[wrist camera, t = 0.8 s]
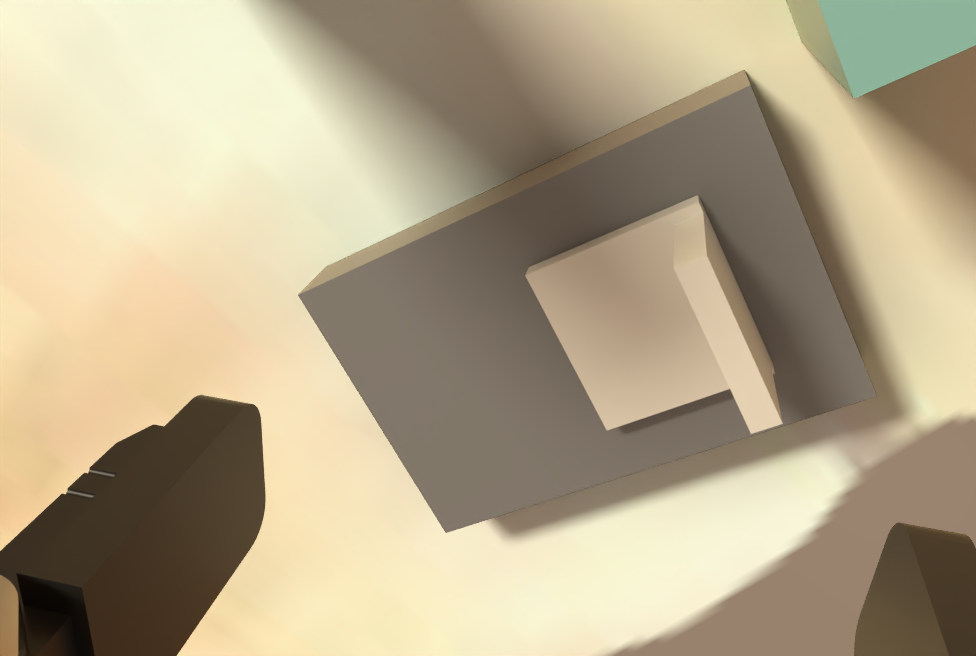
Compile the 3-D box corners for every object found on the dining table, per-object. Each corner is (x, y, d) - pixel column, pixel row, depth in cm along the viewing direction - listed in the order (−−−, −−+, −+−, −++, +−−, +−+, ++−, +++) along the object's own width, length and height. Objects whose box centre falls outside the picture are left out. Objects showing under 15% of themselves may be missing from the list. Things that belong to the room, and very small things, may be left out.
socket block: (744, 69, 30) (750, 85, 27) (861, 358, 34) (877, 396, 31) (325, 267, 37) (297, 294, 34) (461, 491, 40) (445, 532, 37)
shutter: (698, 195, 29) (701, 242, 25) (772, 363, 31) (787, 434, 27) (528, 267, 31) (505, 322, 27) (608, 419, 33) (598, 493, 29)
